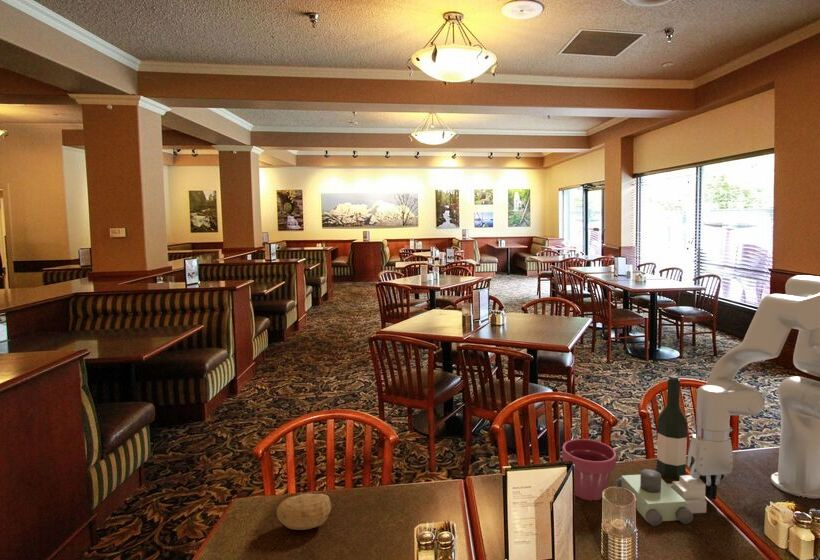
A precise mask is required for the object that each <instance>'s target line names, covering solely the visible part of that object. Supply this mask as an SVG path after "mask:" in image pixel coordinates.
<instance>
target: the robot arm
mask: <svg viewBox="0 0 820 560" xmlns="http://www.w3.org/2000/svg"><path fill="white" fill-rule="evenodd" d="M784 287H785V288H784V289H785V293H784V294H783V293H771V294H768V295H766V296H764V297H763V298H762V299H761V301H760V303H759V305H758V307H757V309H756V312H755V314H754V316H753V318H752V320H751V322H750V324H749V327H748V329H747V331H746V333H745V335H744V338H743V340H742V341H741V343H740V344H738V345H736V346H735V347H734V348H732V349H730V350H729V351H728V352H726V353H725V354H723V355H722V356H721V357H720V358H719V359H718V360H717V361H716V363H715V364H714V365H713V367H712V369H711V372H710V374H709V376H708V378H707V382H706V384H704V385H701V386H699V387H698V389H697V392H696V394H697V395H696V412H695V413H696V416H695V417H696V418H695V433H693V434H692V436H691V439H690V441H689V446H688V451H687V460H686V466H687V467H688V468H689V469H690V472H689V475H690V476H692V477H693V478H696V479H699V480H701V481H702V482H703V483H704V484H706V487H705V498H707V499H708V500H710V501H711V500H717V493H718V486H719V485H720V483H721V481H722V480H723V479H724V478H727V477H730V476H731V475H732V471H733V466H734V455H733V446H732V440H731V437H730V435H729V434H730V433H732V432H733V428H732V427H731V426H730V417H731V416H743V417H751V416H754V415H755V416H756V415H758V414H759V413H761V412H762V411H763V410H764V408H765V406H766V400H765V398H764V395H763V394H762V393H761V392H759V391H758V390H757V389H755V388H752V387H750V386H747V385H745V384H742V383H741V382H738V381H734V379H735V376H736V375H737V373H738V372H739V371H740V370H741V369H742V368H744V367H745V366H747V365H749V364H751V363H755V362H761V361H765V360H771V359H775V358H778V357H779V356H780V354H781V351H782V350H783V347H784V345H785V343H786V341H787V339H788V337H789V334H790V332H791V330H792V329H795V330H798V334H797V337H796V338H797V339H796V342H795V347H794V351H793V357H792V358H793V359H792V362H793V363H792V364H793V365H794V367H795V368H796V369H798V370H799V371H801V372H803V373H806V374H808V375H812V376H815V377H817V378H820V276H819V275H807V274H806V275H805V274H803V275H801V274H799V275H794V276H791V277H790V278H788V279H787V281H786V283H785V286H784ZM777 395H778V396H777V397H778V402H779V407H780V432H779V434H780V435H779V447H778V448H779V450H778V467H777V472H774V473H772V474H771V475H770V481H771V483H772V484H773V485H774V486H775V487H776V488H777V489H779V490H781V491H783V492H785V493H787V494H790V495H793V496H797V497H800V496H802V497H801V498H805V497H807V498H806V499H820V381H818V380H815V379H812V378H807V377H804V376H799V375H797V376H796V375H795V376H793V375H792V376H788V377H786V378H784V379H782V381H781V382H780V384H779V386H778V390H777Z"/></svg>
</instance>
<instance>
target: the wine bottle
mask: <svg viewBox="0 0 820 560" xmlns="http://www.w3.org/2000/svg"><path fill="white" fill-rule="evenodd" d="M680 383H681V379H680V378H679V376H678V375H674V374H671V375H669V377H667V391H666V392H667V396H666V399H667V400H666V405H665V407H664V408H663V409H662V410H661V412H660V413H659V414H658V416H657V438H656V439H657V443H656V444H657V445H656V449H657V450H656V471H657V472H659V473H660V474H661V476H662V477H664V478H669V479H674V480H679V478H680V476H684V475H687V474H686V472H687V468H686V467H687V449H688V448H687V444H688V419H687V417H686V415H685V414H684V412H683V410H682V409H681V407H680V392H681V391H680V388H681V385H680Z"/></svg>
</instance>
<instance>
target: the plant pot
mask: <svg viewBox="0 0 820 560" xmlns="http://www.w3.org/2000/svg"><path fill="white" fill-rule="evenodd" d="M561 449H562V451H561V453H562V455H561V458H562V461H563V463H564V462H565V461H572V462H573V463H574V464H575V494H574V495H575V496H576V497H577V498H580V499H582V500H587V501H592V500H594V501H600V500H601V495H602V491H603V490H604V489H606V488H607V489H608V487H609V482H610V479H611V478H610V477H611V475H612V472H613V471H614V470H615V469H616V466H617V452H616V451H615V449H614V448H612V447H611V446H609V445H608V444H606V443H603V442H601V441H598V440H595V439H587V438H578V439H577V438H576V439H575V438H574V439H569V440H568V441H565V442H564V443H563V444H562V448H561ZM607 489H606V490H607Z"/></svg>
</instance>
